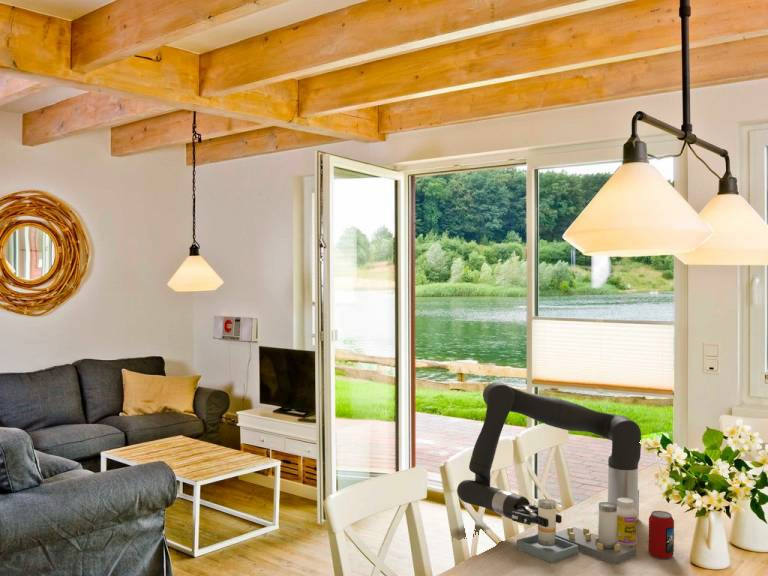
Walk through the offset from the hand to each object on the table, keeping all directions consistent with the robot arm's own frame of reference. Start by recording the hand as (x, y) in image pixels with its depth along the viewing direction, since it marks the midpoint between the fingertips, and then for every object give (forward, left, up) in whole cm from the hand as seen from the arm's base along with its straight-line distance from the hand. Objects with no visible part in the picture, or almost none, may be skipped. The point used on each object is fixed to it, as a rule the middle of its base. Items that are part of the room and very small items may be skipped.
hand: (554, 521), depth 208 cm
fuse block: (-13, +3, -9) cm, 16 cm away
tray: (0, -3, -9) cm, 10 cm away
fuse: (-13, +8, -7) cm, 17 cm away
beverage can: (-24, +18, -10) cm, 32 cm away
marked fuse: (0, -3, -7) cm, 7 cm away
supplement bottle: (-24, +6, -10) cm, 27 cm away
